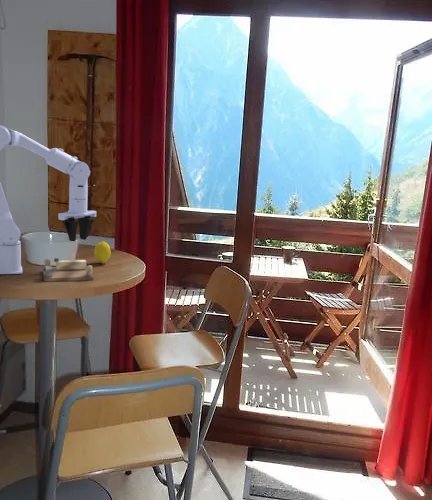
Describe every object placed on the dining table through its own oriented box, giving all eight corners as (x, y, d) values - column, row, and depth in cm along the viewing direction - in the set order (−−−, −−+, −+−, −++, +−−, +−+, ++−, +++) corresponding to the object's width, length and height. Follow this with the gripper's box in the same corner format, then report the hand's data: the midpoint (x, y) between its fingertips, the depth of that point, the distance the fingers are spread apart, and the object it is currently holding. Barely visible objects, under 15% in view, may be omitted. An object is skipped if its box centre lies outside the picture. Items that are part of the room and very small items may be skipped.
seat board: (44, 281, 143) (44, 268, 142) (42, 271, 154) (42, 259, 153) (93, 279, 148) (93, 267, 148) (88, 270, 159) (88, 258, 159)
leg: (54, 269, 152) (54, 259, 152) (53, 268, 154) (53, 257, 154) (86, 269, 156) (86, 259, 155) (85, 267, 158) (85, 257, 157)
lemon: (106, 266, 167) (106, 243, 165) (91, 264, 168) (91, 241, 166) (112, 262, 172) (113, 240, 170) (98, 260, 173) (98, 238, 171)
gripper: (86, 196, 165) (85, 235, 168) (51, 198, 153) (51, 240, 155) (101, 198, 161) (100, 238, 164) (67, 200, 149) (67, 244, 152)
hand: (77, 240), depth 160 cm, fingers open, 4 cm apart
